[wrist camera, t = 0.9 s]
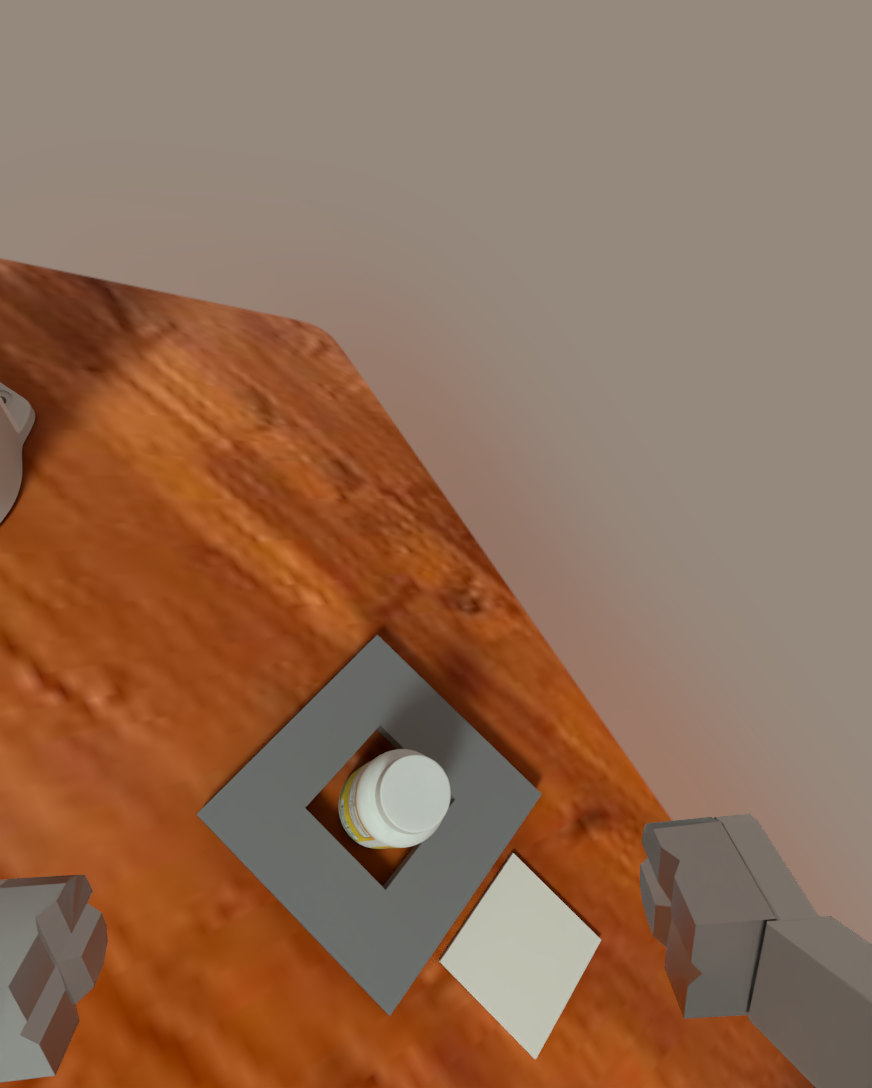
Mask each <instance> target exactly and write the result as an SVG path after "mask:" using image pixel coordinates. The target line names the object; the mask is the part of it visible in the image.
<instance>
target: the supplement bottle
mask: <svg viewBox="0 0 872 1088" xmlns="http://www.w3.org/2000/svg"><path fill="white" fill-rule="evenodd" d="M450 799H451V789H450V783H449V780H448V777H447V775H446V773H445V771H444V770H443V768H442V767H441V766H440V765H439V764H438V763H437V762H436V761H434V760H433V759H431V758H429V757H427V756H425V755H423V754H421V753H419V752H417V751H414V750H409V749H396V750H391V751H388V752H385V753H383V754H381V755H379V756H378V757H376V758H374V759H373V760H371V761H370V762H368V763H367V764H365V765H363V766H362V767H360V768H359V769H357V770H356V771H355V772H353V773H352V774H351V775H350V776H349V778H348V779H347V780H346V782H345V784H344V786H343V788H342V790H341V794H340V798H339V815H340V819H341V823H342V825H343V827H344V829H345V831H346V832H347V834H348V835H349V836H350V837H351V838H352V839H353V840H354V841H355V842H357V843H358V844H360V845H362V846H364V847H368V848H373V849H385V848H405V847H411V846H414V845H417V844H419V843H421V842H423V841H425V840H426V839H428V838H429V837H430V836H431V835H432V834H433V833H434V832H435V831H436V830H437V828H438V827H439V825H440V823H441V822H442V819H443V818H444V816H445V814H446V812H447V810H448V808H449V804H450Z"/></svg>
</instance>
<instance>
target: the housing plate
mask: <svg viewBox="0 0 872 1088" xmlns="http://www.w3.org/2000/svg"><path fill="white" fill-rule="evenodd" d="M375 730H377V731H378V732H379V733H380V734H381V735H382V736H383V737H384V738H385V739H386V740H387V741H389V742H390V743H391V744H392V745H393V746H394V747H395V748H396V749H409V750H414V751H417V752H419V753H421V754H423V755H425V756H427V757H429V758H431V759H433V760H434V761H436V762H437V763H438V764H439V765H440V766H441V767H442V768H443V770H444V771H445V773H446V775H447V777H448V780H449V783H450V789H451V799H450V804H449V808H448V810H447V812H446V814H445V816H444V818H443V819H442V822H441V823H440V825H439V827H438V828H437V830H436V831H435V832H434V833H433V834H432V835H431V836H430V837H429V838H428V839H426V840H425V841H423V842H421V843H419V844H417V845H414V846H413V848H412V849H411V850H410V852H409V853H408V854H407V855H406V857H405V858H404V859H403V861H402V862H401V863H400V865H399V866H398V867H397V868H396V870H395V871H394V872H393V874H392V875H391V876H390V877H389V879H388V880H387V881H386V883H385V884H384V885H383V887H382V886H381V885H380V884H379V883H378V882H377V881H376V880H375V879H374V878H373V877H372V876H371V875H370V874H369V873H368V871H367V870H366V869H365V868H364V867H363V866H362V865H361V864H360V863H359V862H358V861H357V860H356V859H355V858H354V857H353V856H352V855H351V854H350V853H349V852H348V851H347V850H346V849H345V848H344V847H343V846H342V845H341V844H340V843H339V842H338V841H337V840H336V839H335V838H334V837H333V836H332V835H331V834H330V833H329V832H328V831H327V830H326V829H325V828H324V827H323V826H322V825H321V824H320V823H319V822H318V821H317V819H316V818H315V817H314V816H313V815H312V814H311V813H310V812H309V811H308V810H307V809H306V806H307V805H308V804H309V803H310V802H311V801H312V800H313V799H314V798H315V796H316V795H317V794H318V793H319V792H320V791H321V790H322V789H323V788H324V787H325V785H326V784H327V783H328V782H329V781H330V780H331V779H332V778H333V777H334V776H335V774H336V773H337V772H338V771H339V770H340V769H341V768H342V767H343V766H344V764H345V763H346V762H347V761H348V760H349V759H350V758H351V757H352V756H353V755H354V753H355V752H356V751H357V750H358V749H359V748H360V747H361V746H362V745H363V744H364V742H365V741H366V740H367V739H368V738H369V737H370V736H371V735H372V734H373V732H374V731H375ZM541 795H542V794H541V793H540V792H539V791H538V790H537V789H536V788H535V787H534V786H533V785H532V784H531V783H530V782H529V781H528V780H527V779H526V778H525V777H524V776H523V775H522V774H521V773H520V772H518V771H517V770H516V769H515V768H514V767H513V766H512V765H511V764H510V763H509V762H508V761H507V760H506V759H505V758H504V757H503V756H502V755H501V754H500V753H499V752H498V751H497V750H496V749H495V748H494V747H493V746H492V745H491V744H490V743H489V742H488V741H487V740H485V739H484V738H483V737H482V736H481V735H480V734H479V733H478V732H477V731H476V730H475V729H474V728H473V727H472V726H471V725H470V724H469V723H468V722H467V721H466V720H465V719H464V718H463V717H462V716H461V715H460V714H459V713H458V712H457V711H456V710H455V709H454V708H452V707H451V706H450V705H449V704H448V703H447V702H446V701H445V700H444V699H443V698H442V697H441V696H440V695H439V694H438V693H437V692H436V691H435V690H434V689H433V688H432V687H431V686H430V685H429V684H428V683H427V682H426V681H425V680H424V679H423V678H422V677H421V676H419V675H418V674H417V673H416V672H415V671H414V670H413V669H412V668H411V667H410V666H409V665H408V664H407V663H406V662H405V661H404V660H403V659H402V658H401V657H400V656H399V655H398V654H397V653H396V652H395V651H394V650H393V649H392V648H391V647H390V646H389V645H388V644H386V643H385V642H384V641H383V640H382V639H381V638H380V637H379V636H378V635H376V636H375V637H374V638H373V639H372V640H371V641H370V642H369V643H368V644H367V645H366V646H365V647H364V648H363V649H362V650H361V651H360V652H359V653H358V654H357V655H356V656H355V657H354V658H353V659H352V660H351V661H350V662H349V663H348V664H347V665H346V666H345V667H344V668H343V669H342V670H341V671H340V672H339V673H338V674H337V675H336V676H335V677H334V678H333V679H332V680H331V681H330V682H329V683H328V684H327V685H326V686H325V687H324V688H323V689H322V690H321V691H320V692H319V693H318V694H317V695H316V696H315V697H314V698H313V699H312V700H311V701H310V702H309V703H308V704H307V705H306V706H305V707H304V708H303V709H302V710H301V711H300V712H299V713H298V714H297V715H296V716H295V717H294V718H293V719H292V720H291V721H290V722H289V723H288V724H287V725H286V726H285V727H284V728H283V729H282V730H281V731H280V732H279V733H278V734H277V735H276V736H275V737H274V738H273V739H272V740H271V741H270V742H269V743H268V744H267V745H266V746H265V747H264V748H263V749H262V750H261V751H260V752H259V753H258V754H257V755H256V756H255V757H254V758H253V759H252V760H251V761H250V762H249V763H248V764H247V765H246V766H245V767H244V768H243V769H242V770H241V771H240V772H239V773H238V774H237V775H236V776H235V777H234V778H233V779H232V780H231V781H230V782H229V783H228V784H227V785H226V786H225V787H223V788H222V789H221V790H220V791H219V792H218V793H217V794H216V795H215V796H214V797H213V798H212V799H211V800H210V801H209V802H208V803H207V804H206V805H205V806H204V807H203V808H202V809H201V810H200V811H199V812H198V813H197V816H198V817H199V818H200V819H201V820H202V821H203V822H204V823H205V824H206V825H207V826H208V827H209V828H210V829H211V830H212V831H213V832H214V833H215V834H216V836H217V837H218V838H219V839H220V840H221V841H222V842H223V843H224V844H225V845H226V846H227V847H228V848H229V849H230V850H231V851H232V852H233V853H234V854H235V855H236V856H237V857H238V859H239V860H240V861H241V862H242V863H243V864H244V865H245V866H246V867H247V868H248V869H249V870H250V871H251V872H252V873H253V874H254V875H255V876H256V877H257V878H258V879H259V880H260V881H261V883H262V884H263V885H264V886H265V887H266V888H267V889H268V890H269V891H270V892H271V893H272V894H273V895H274V896H275V897H276V898H277V899H278V900H279V901H280V902H281V903H282V904H283V905H284V907H285V908H286V909H287V910H288V911H289V912H290V913H291V914H292V915H293V916H294V917H295V918H296V919H297V920H298V921H299V922H300V923H301V924H302V925H303V926H304V927H305V928H306V930H307V931H308V932H309V933H310V934H311V935H312V936H313V937H314V938H315V939H316V940H317V941H318V942H319V943H320V944H321V945H322V946H323V947H324V948H325V949H326V950H327V951H328V952H329V954H330V955H331V956H332V957H333V958H334V959H335V960H336V961H337V962H338V963H339V964H340V965H341V966H342V967H343V968H344V969H345V970H346V971H347V972H348V973H349V974H350V975H351V977H352V978H353V979H354V980H355V981H356V982H357V983H358V984H359V985H360V986H361V987H362V988H363V989H364V990H365V991H366V992H367V993H368V994H369V995H370V996H371V997H372V998H373V999H374V1001H375V1002H376V1003H377V1004H378V1005H379V1006H380V1007H381V1008H382V1009H383V1010H384V1011H385V1012H386V1013H387V1014H388V1015H389V1016H390V1015H391V1014H392V1012H393V1011H394V1009H395V1008H396V1006H397V1005H398V1003H399V1002H400V1001H401V999H402V998H403V996H404V995H405V993H406V992H407V990H408V989H409V987H410V986H411V984H412V983H413V982H414V980H415V979H416V977H417V976H418V974H419V973H420V971H421V970H422V968H423V967H424V965H425V964H426V963H427V961H428V960H429V958H430V957H431V955H432V954H433V952H434V951H435V949H436V948H437V947H438V945H439V944H440V942H441V941H442V939H443V938H444V936H445V935H446V933H447V932H448V930H449V929H450V928H451V926H452V925H453V923H454V922H455V920H456V919H457V917H458V916H459V914H460V913H461V911H462V910H463V909H464V907H465V906H466V904H467V903H468V901H469V900H470V898H471V897H472V895H473V894H474V892H475V891H476V890H477V888H478V887H479V885H480V884H481V882H482V881H483V879H484V878H485V876H486V875H487V874H488V872H489V871H490V869H491V868H492V866H493V865H494V863H495V862H496V860H497V859H498V857H499V856H500V855H501V853H502V852H503V850H504V849H505V847H506V846H507V844H508V843H509V841H510V840H511V838H512V837H513V836H514V834H515V833H516V831H517V830H518V828H519V827H520V825H521V824H522V822H523V821H524V819H525V818H526V817H527V815H528V814H529V812H530V811H531V809H532V808H533V806H534V805H535V803H536V802H537V801H538V799H539V798H540V796H541Z"/></svg>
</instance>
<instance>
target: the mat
mask: <svg viewBox="0 0 872 1088" xmlns="http://www.w3.org/2000/svg"><path fill="white" fill-rule="evenodd" d="M600 941H601V939H600V938H599V937H598V936H597V935H596V934H595V933H594V932H593V931H592V930H591V929H590V928H589V927H588V926H587V925H586V924H585V923H584V922H583V921H582V920H581V919H580V918H579V917H578V916H577V915H576V914H575V913H574V912H573V911H572V910H571V909H570V908H569V907H568V906H567V905H566V904H565V903H564V902H563V901H562V900H560V899H559V898H558V897H557V896H556V895H555V894H554V893H553V892H552V891H551V890H550V889H549V888H548V887H547V886H546V885H545V884H544V883H543V882H542V881H541V880H540V879H539V878H538V877H537V876H536V875H535V874H534V873H533V872H532V871H531V870H530V869H529V868H528V867H527V866H526V865H525V864H524V863H523V862H522V861H521V860H520V859H519V858H518V857H517V856H516V855H515V854H514V853H511V854H510V856H509V857H508V859H507V860H506V862H505V863H504V865H503V866H502V868H501V869H500V871H499V872H498V874H497V875H496V877H495V878H494V880H493V881H492V883H491V884H490V886H489V887H488V888H487V890H486V891H485V893H484V894H483V896H482V897H481V899H480V900H479V902H478V903H477V905H476V906H475V908H474V909H473V911H472V912H471V914H470V915H469V917H468V918H467V920H466V921H465V923H464V924H463V925H462V927H461V928H460V930H459V931H458V933H457V934H456V936H455V937H454V939H453V940H452V942H451V943H450V945H449V946H448V948H447V949H446V951H445V952H444V954H443V955H442V957H441V958H440V960H439V962H440V963H441V964H442V965H443V966H444V967H445V968H446V969H447V970H448V971H449V972H450V973H451V974H452V975H453V976H454V977H455V978H456V979H457V980H458V981H459V982H460V983H461V984H462V985H463V986H464V987H465V988H466V989H467V990H468V991H469V992H470V993H471V994H472V995H473V997H474V998H475V999H476V1000H477V1001H478V1002H479V1003H480V1004H481V1005H482V1006H483V1007H484V1008H485V1009H486V1010H487V1011H488V1012H489V1013H490V1014H491V1015H492V1016H493V1017H494V1018H495V1019H496V1020H497V1021H498V1022H499V1023H500V1024H501V1025H502V1026H503V1027H504V1028H505V1029H506V1030H507V1031H508V1032H509V1033H510V1034H511V1035H512V1036H513V1037H514V1038H515V1039H516V1040H517V1042H518V1043H519V1044H520V1045H521V1046H522V1047H523V1048H524V1049H525V1050H526V1051H527V1052H528V1053H529V1054H530V1055H531V1056H532V1057H533V1058H534V1059H536V1058H537V1056H538V1055H539V1053H540V1051H541V1049H542V1047H543V1045H544V1044H545V1042H546V1040H547V1038H548V1036H549V1034H550V1033H551V1031H552V1029H553V1027H554V1025H555V1024H556V1022H557V1020H558V1018H559V1016H560V1014H561V1013H562V1011H563V1009H564V1007H565V1005H566V1003H567V1002H568V1000H569V998H570V996H571V994H572V992H573V991H574V989H575V987H576V985H577V983H578V982H579V980H580V978H581V976H582V974H583V972H584V971H585V969H586V967H587V965H588V963H589V961H590V960H591V958H592V956H593V954H594V952H595V950H596V949H597V947H598V945H599V943H600Z"/></svg>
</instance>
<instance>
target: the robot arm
mask: <svg viewBox="0 0 872 1088" xmlns="http://www.w3.org/2000/svg"><path fill="white" fill-rule="evenodd" d="M4 402H6V403H5V404H4ZM34 421H35V412H34V410H33V408H32V407H31V405H30V403H29V402H28V401H27V400H26V399H25V398H23V397H22V396H20V395H19V394H17V393H16V392H14V391H13V390H11V389H10V388H8V387H7V386H5V385H4V384H2V383H1V382H0V523H1V521H2V520H3V519H4V518H5V516H6V515H7V514H8V512H9V511H10V509H11V507H12V505H13V504H14V502H15V500H16V497H17V495H18V492H19V489H20V485H21V480H22V447H23V443H24V442H25V440H26V438H27V436H28V434H29V432H30V431H31V429H32V426H33V424H34ZM642 844H643V846H644V849H645V851H646V854H647V856H648V857H647V858H646V860H645V861H644V862H643V863H642V864H641V865H640V887H641V895H642V902H643V906H644V910H645V913H646V917H647V920H648V923H649V926H650V929H651V931H652V934H653V936H654V937H655V938H656V939H657V940H658V941H659V942H661V943H662V944H663V945H664V946H665V947H666V948H667V949H666V960H665V970H666V972H667V975H668V978H669V980H670V983H671V986H672V988H673V991H674V994H675V996H676V999H677V1002H678V1004H679V1007H680V1010H681V1012H682V1015H683V1017H684V1019H685V1018H702V1017H718V1016H735V1015H749V1016H748V1019H749V1020H750V1021H751V1022H752V1023H753V1024H754V1025H755V1026H756V1027H757V1028H758V1029H759V1030H760V1031H761V1032H762V1033H763V1034H764V1035H765V1036H766V1037H767V1038H768V1039H769V1040H770V1042H771V1043H772V1044H773V1045H774V1046H775V1047H776V1048H777V1049H778V1050H779V1051H780V1052H781V1053H782V1054H783V1055H784V1056H785V1057H786V1058H787V1059H788V1060H789V1061H790V1062H791V1063H792V1064H793V1065H794V1066H795V1067H796V1068H797V1069H798V1070H799V1071H800V1072H801V1073H802V1074H803V1075H804V1076H805V1077H806V1078H807V1079H808V1080H809V1081H810V1083H811V1084H812V1085H813V1086H814V1087H815V1088H872V944H871V943H869V942H868V941H866V940H865V939H863V938H862V937H860V936H859V935H857V934H856V933H855V932H853V931H852V930H850V929H849V928H847V927H846V926H844V925H843V924H842V923H840V922H839V921H837V920H836V919H834V918H833V917H831V916H823V917H819V915H818V913H817V912H816V910H815V909H814V907H813V906H812V904H811V903H810V901H809V900H808V898H807V897H806V895H805V893H804V892H803V890H802V889H801V887H800V886H799V884H798V882H797V881H796V879H795V878H794V876H793V875H792V873H791V872H790V870H789V869H788V867H787V865H786V864H785V862H784V861H783V859H782V858H781V856H780V855H779V853H778V852H777V850H776V848H775V847H774V845H773V844H772V842H771V841H770V839H769V838H768V836H767V834H766V833H765V831H764V830H763V828H762V827H761V825H760V824H759V822H758V820H757V819H755V818H754V817H753V816H752V815H750V814H745V815H734V816H723V817H715V818H712V817H707V818H697V819H687V820H678V821H667V822H657V823H647V824H646V825H645V827H644V829H643V838H642ZM92 892H93V891H92V889H91V887H90V884H89V882H88V880H87V878H86V876H85V875H67V876H50V877H33V878H17V879H6V880H0V1082H7V1081H15V1080H24V1079H32V1078H40V1077H48V1076H55V1075H56V1073H57V1070H58V1068H59V1066H60V1064H61V1061H62V1059H63V1057H64V1055H65V1052H66V1050H67V1048H68V1045H69V1043H70V1041H71V1039H72V1036H73V1034H74V1032H75V1030H76V1027H77V1025H78V1023H79V1016H78V1012H77V1008H76V1003H77V1002H78V1001H79V1000H81V999H82V998H83V997H84V996H85V995H86V994H87V993H88V992H89V991H90V990H91V989H92V988H93V987H94V986H95V983H96V981H97V979H98V976H99V974H100V971H101V969H102V966H103V964H104V958H105V953H106V947H107V942H108V940H107V928H106V923H105V920H104V918H103V915H102V913H101V912H100V911H98V910H97V909H95V908H94V907H92V906H91V905H89V904H88V903H87V902H88V900H89V898H90V896H91V894H92Z"/></svg>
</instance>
